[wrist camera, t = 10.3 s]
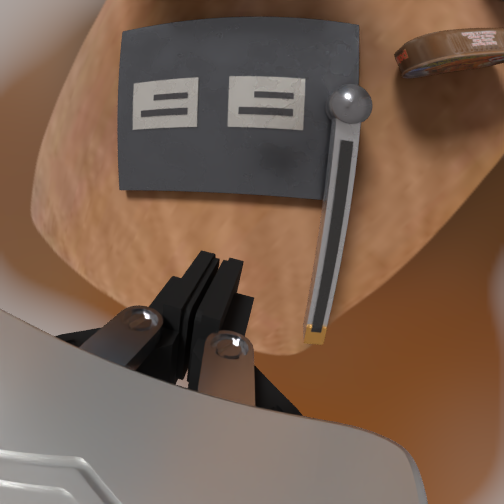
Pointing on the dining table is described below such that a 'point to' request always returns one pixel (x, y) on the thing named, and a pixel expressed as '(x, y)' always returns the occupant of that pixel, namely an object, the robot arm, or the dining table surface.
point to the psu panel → (231, 104)
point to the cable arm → (335, 204)
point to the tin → (451, 51)
